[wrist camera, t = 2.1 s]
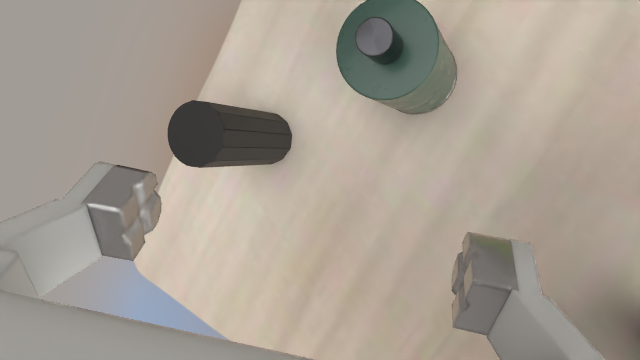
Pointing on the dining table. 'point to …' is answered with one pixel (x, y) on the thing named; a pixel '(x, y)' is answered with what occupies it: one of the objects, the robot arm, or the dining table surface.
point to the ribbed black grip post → (227, 135)
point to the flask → (396, 56)
